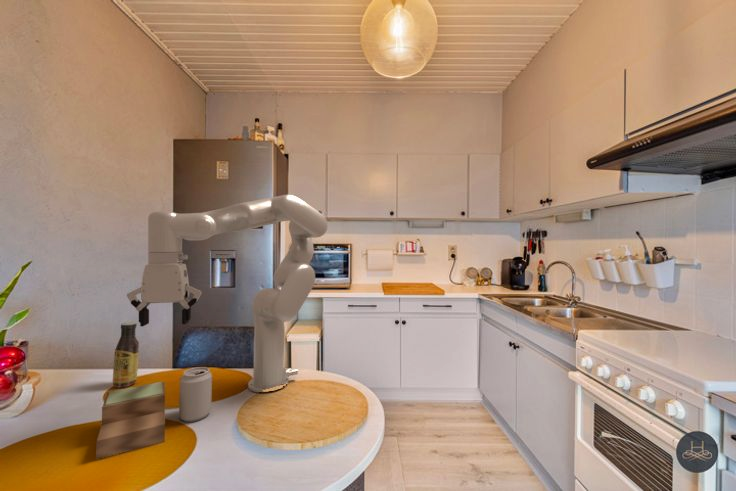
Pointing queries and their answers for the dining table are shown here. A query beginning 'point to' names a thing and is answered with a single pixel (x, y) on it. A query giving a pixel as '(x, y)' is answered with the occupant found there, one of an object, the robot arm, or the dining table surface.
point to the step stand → (132, 419)
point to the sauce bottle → (126, 357)
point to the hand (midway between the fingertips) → (165, 324)
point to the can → (195, 394)
